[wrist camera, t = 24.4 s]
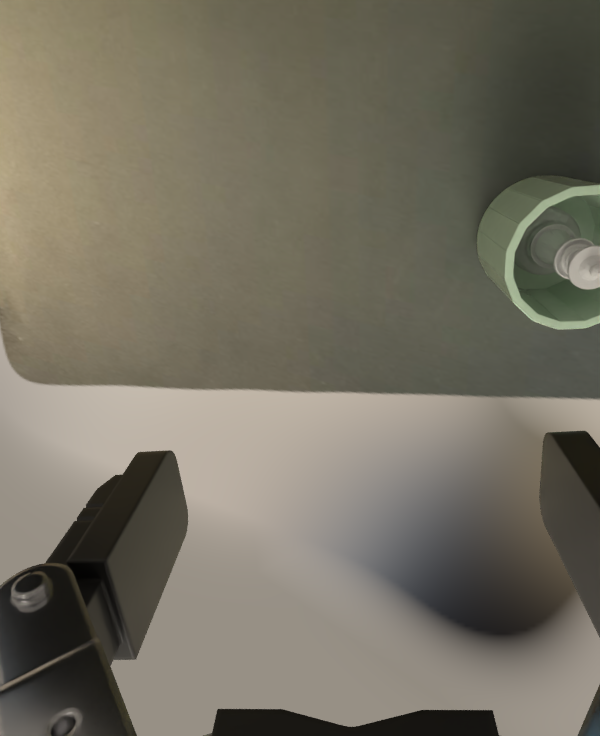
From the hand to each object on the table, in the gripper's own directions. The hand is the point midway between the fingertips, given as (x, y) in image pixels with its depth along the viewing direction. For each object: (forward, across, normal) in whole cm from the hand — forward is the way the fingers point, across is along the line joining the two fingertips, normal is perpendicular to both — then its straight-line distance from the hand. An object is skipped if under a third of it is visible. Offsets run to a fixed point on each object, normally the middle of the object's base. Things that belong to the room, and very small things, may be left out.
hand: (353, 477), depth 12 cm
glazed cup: (+30, -13, +1) cm, 32 cm away
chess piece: (+29, -13, +1) cm, 32 cm away
